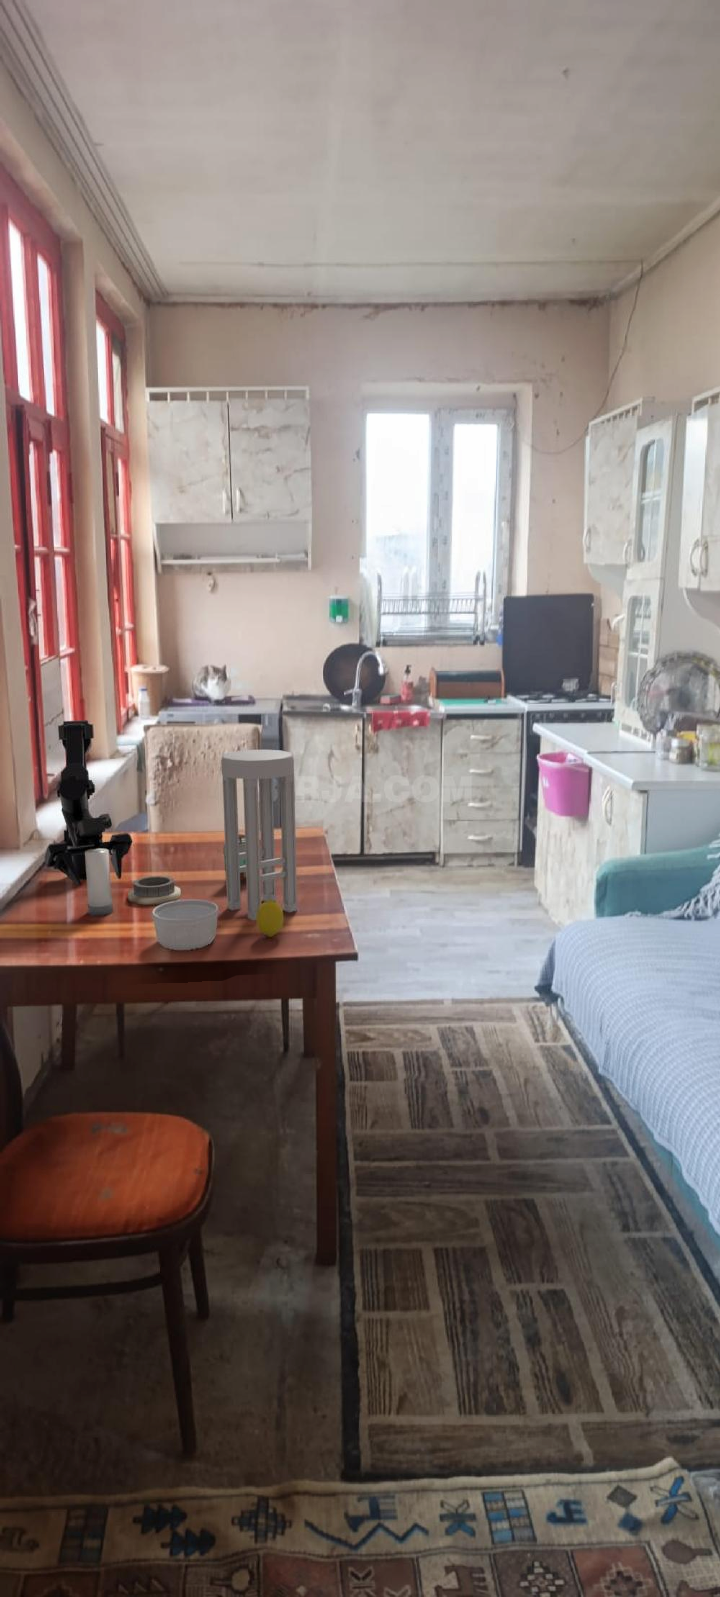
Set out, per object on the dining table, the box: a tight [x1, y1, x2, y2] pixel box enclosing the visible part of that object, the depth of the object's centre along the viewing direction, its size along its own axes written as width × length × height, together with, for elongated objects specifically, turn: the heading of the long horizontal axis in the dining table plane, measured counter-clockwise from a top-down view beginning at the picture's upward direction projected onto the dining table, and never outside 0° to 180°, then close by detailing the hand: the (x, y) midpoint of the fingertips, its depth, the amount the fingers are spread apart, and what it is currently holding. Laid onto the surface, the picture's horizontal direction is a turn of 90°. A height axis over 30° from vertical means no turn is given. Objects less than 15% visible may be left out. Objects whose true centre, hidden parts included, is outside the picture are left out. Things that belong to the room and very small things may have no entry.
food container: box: [222, 833, 246, 885], centre depth 244 cm, size 12×6×10 cm, turn 168°
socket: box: [127, 875, 182, 906], centre depth 231 cm, size 12×12×4 cm
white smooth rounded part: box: [85, 848, 114, 917], centre depth 219 cm, size 5×5×14 cm
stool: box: [220, 749, 298, 921], centre depth 218 cm, size 16×16×35 cm
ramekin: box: [151, 899, 219, 951], centre depth 201 cm, size 13×13×7 cm
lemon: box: [255, 900, 285, 938], centre depth 202 cm, size 6×6×8 cm
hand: (100, 881), depth 218 cm, fingers open, 9 cm apart
